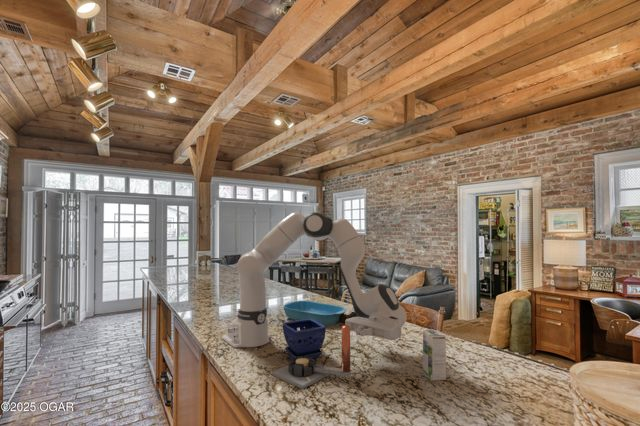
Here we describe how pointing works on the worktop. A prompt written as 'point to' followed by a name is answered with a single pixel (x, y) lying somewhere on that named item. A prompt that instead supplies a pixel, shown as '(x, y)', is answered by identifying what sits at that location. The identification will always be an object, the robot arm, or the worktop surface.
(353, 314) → the brown pine cone
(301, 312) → the casserole dish
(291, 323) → the flower pot
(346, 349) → the nut with spanner
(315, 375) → the plate
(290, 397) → the worktop surface
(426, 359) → the syrup box
